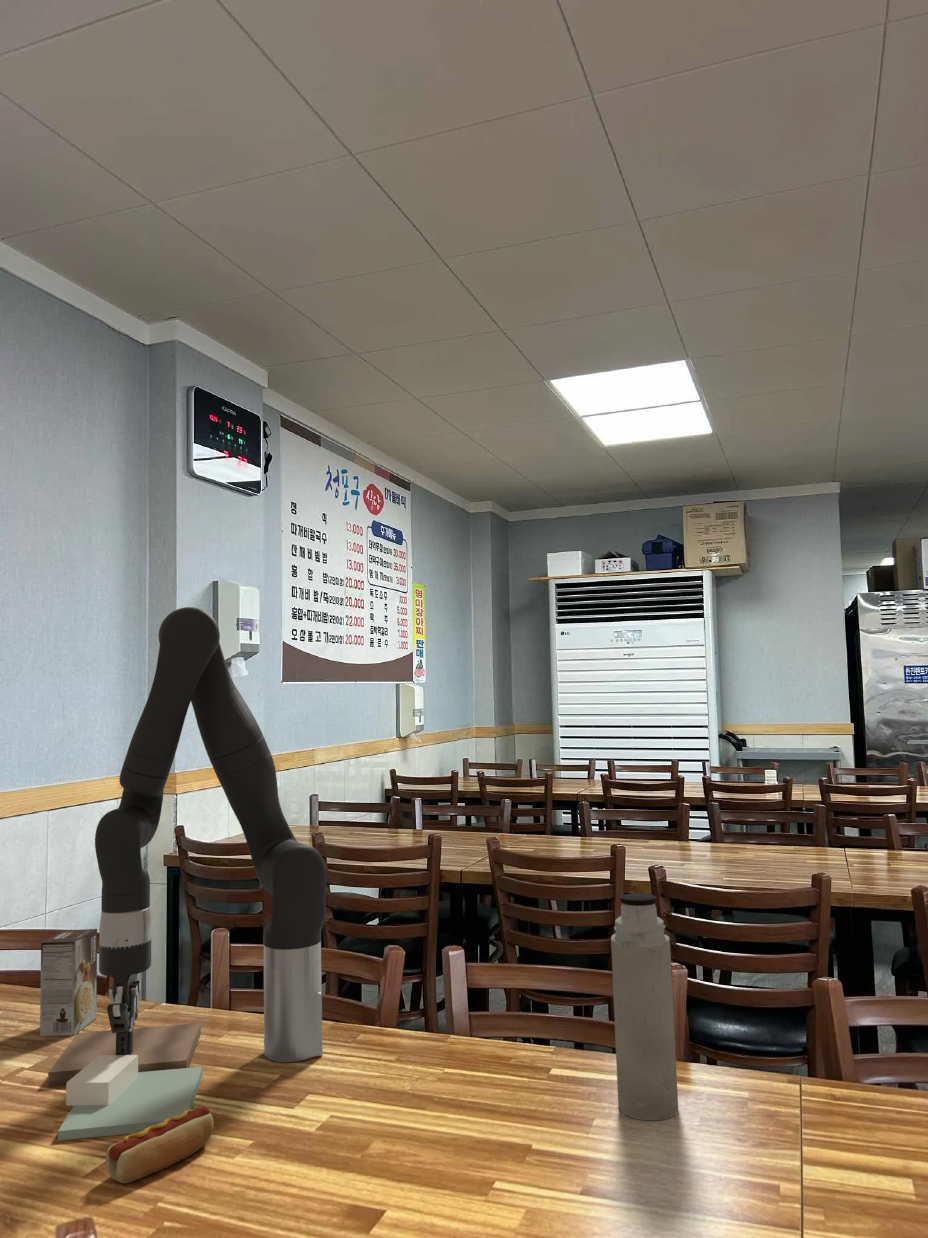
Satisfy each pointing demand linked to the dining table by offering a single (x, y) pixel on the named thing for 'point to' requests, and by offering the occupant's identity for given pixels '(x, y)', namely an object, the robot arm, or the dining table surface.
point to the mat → (136, 1105)
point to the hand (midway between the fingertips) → (124, 1056)
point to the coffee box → (68, 982)
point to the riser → (149, 1043)
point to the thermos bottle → (643, 1011)
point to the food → (159, 1145)
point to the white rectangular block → (102, 1080)
